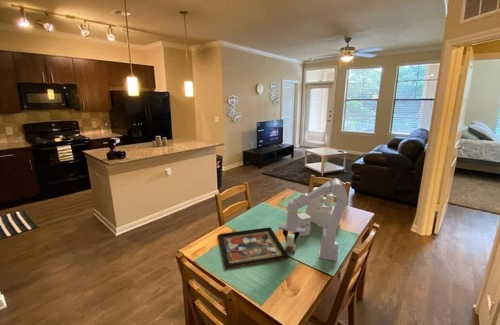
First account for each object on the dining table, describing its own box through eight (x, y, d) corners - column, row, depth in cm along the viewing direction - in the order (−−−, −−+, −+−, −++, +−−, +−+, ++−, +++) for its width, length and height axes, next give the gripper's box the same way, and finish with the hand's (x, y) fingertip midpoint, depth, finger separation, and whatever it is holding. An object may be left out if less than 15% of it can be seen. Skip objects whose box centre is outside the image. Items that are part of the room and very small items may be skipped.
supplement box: (300, 237, 154) (301, 219, 150) (293, 231, 161) (295, 213, 157) (310, 234, 157) (311, 217, 153) (303, 229, 163) (304, 212, 160)
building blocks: (339, 224, 169) (343, 191, 163) (333, 231, 161) (337, 196, 154) (311, 214, 183) (314, 183, 176) (303, 220, 174) (306, 187, 167)
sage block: (294, 243, 142) (295, 234, 140) (293, 246, 138) (294, 238, 137) (287, 241, 143) (288, 233, 142) (286, 245, 139) (286, 237, 138)
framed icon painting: (267, 226, 167) (267, 223, 166) (294, 258, 135) (294, 254, 134) (212, 238, 154) (212, 234, 153) (227, 276, 122) (227, 271, 121)
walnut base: (295, 248, 144) (296, 244, 143) (294, 254, 138) (294, 250, 138) (286, 246, 145) (286, 243, 144) (284, 252, 140) (285, 248, 139)
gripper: (306, 219, 138) (304, 240, 142) (280, 215, 142) (279, 236, 146) (304, 225, 131) (302, 247, 135) (278, 221, 136) (277, 242, 140)
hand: (290, 242), depth 140 cm, fingers closed on sage block, 4 cm apart
